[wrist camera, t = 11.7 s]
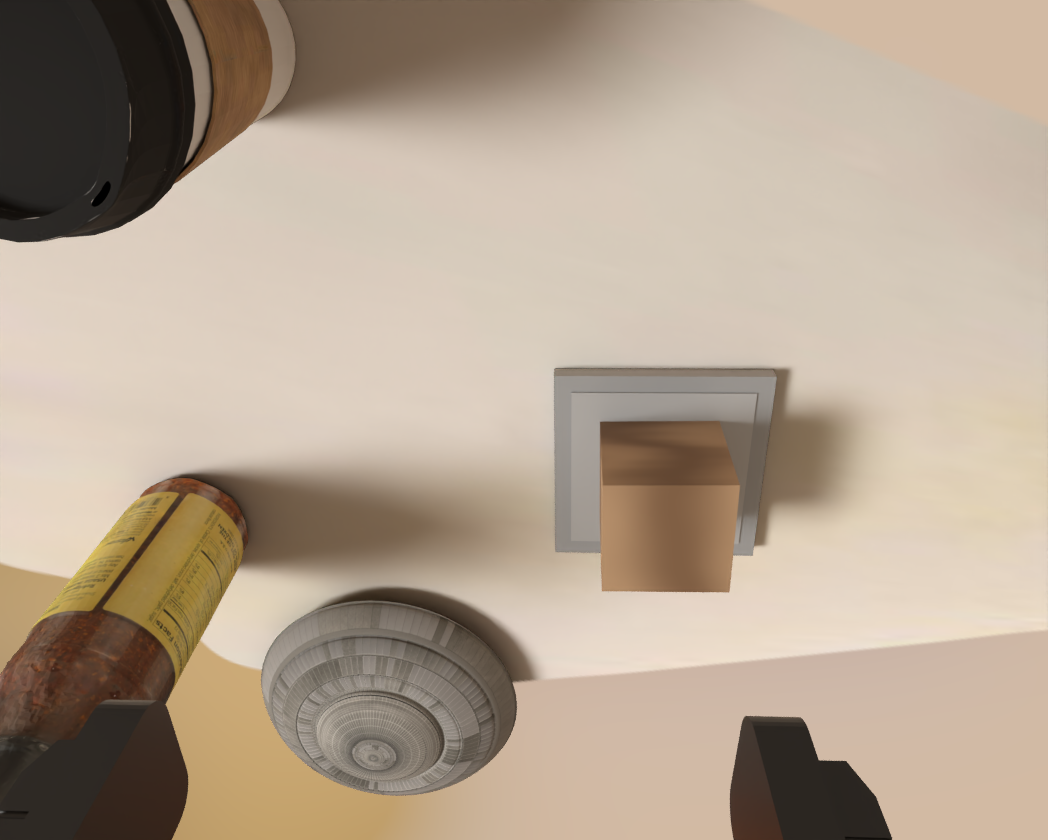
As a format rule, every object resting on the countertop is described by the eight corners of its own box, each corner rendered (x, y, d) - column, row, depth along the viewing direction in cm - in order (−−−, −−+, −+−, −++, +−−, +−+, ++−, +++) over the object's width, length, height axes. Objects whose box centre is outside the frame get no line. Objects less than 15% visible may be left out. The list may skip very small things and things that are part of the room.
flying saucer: (568, 665, 46) (567, 743, 42) (435, 797, 53) (420, 878, 48) (342, 539, 43) (313, 608, 38) (229, 696, 49) (191, 772, 45)
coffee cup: (248, 197, 34) (41, 324, 21) (76, 44, 32) (-280, 80, 19) (371, 44, 31) (218, 81, 18) (191, -139, 29) (-139, -251, 16)
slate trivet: (556, 542, 42) (555, 553, 41) (554, 368, 37) (553, 377, 36) (749, 546, 41) (752, 556, 40) (773, 369, 37) (777, 377, 36)
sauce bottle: (138, 550, 44) (-154, 918, 27) (141, 457, 41) (-185, 802, 24) (255, 579, 44) (44, 960, 27) (267, 489, 42) (38, 850, 24)
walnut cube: (599, 518, 40) (602, 591, 35) (599, 421, 37) (602, 485, 33) (711, 518, 40) (729, 592, 35) (719, 420, 37) (740, 485, 32)
